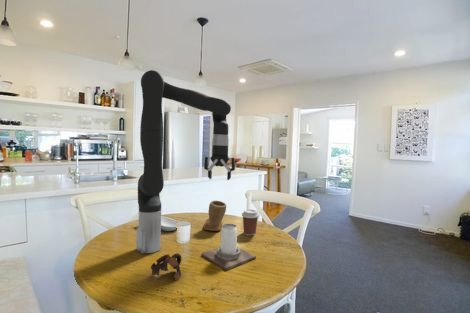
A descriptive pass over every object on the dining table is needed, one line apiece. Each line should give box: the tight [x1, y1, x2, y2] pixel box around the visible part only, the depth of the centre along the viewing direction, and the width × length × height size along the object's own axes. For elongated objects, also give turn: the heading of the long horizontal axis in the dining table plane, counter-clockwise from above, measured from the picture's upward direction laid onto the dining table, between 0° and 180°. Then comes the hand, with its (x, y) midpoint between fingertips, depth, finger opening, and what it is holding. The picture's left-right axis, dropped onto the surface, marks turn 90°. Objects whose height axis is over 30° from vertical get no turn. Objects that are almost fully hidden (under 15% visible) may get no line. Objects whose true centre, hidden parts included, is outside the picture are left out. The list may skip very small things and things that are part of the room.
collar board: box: [201, 245, 257, 271], centre depth 105 cm, size 16×16×3 cm
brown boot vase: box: [203, 200, 227, 232], centre depth 140 cm, size 15×12×15 cm
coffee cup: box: [241, 209, 260, 236], centre depth 133 cm, size 9×9×12 cm
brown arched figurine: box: [150, 253, 182, 282], centre depth 90 cm, size 12×10×8 cm
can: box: [220, 223, 238, 254], centre depth 105 cm, size 6×6×12 cm
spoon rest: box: [161, 215, 180, 232], centre depth 138 cm, size 24×12×7 cm, turn 74°
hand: (219, 179), depth 119 cm, fingers open, 8 cm apart
